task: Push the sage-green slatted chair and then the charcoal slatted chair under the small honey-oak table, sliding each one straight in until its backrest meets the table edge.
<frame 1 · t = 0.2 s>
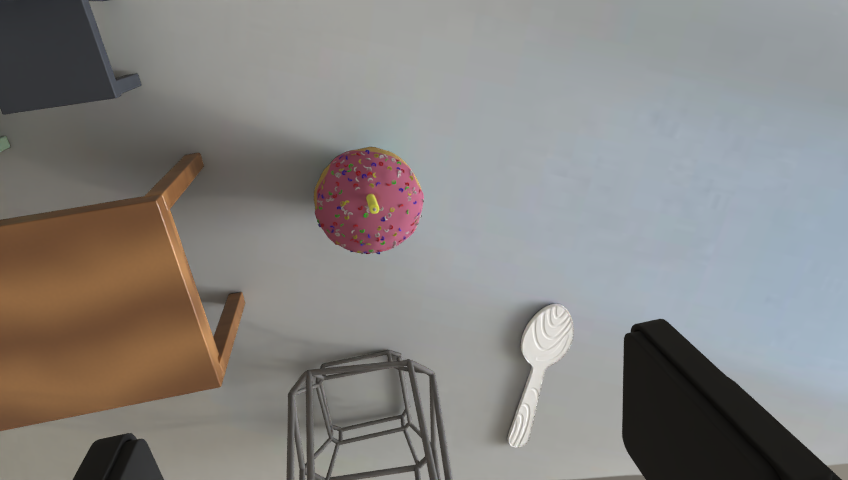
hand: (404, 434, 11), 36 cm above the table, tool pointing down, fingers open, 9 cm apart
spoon: (534, 377, 57), on the table
oak table: (89, 255, 45), on the table
charcoal chair: (32, 49, 33), point 7 cm above the table, slide at 0.0 cm
geometric lantern: (361, 388, 55), on the table
cupcake: (365, 184, 46), on the table
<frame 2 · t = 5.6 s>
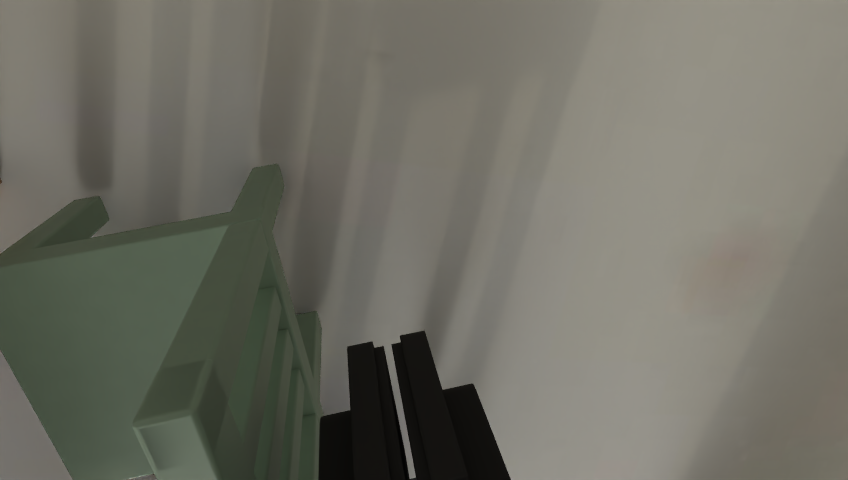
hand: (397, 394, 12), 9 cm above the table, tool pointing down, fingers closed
sage chair: (155, 379, 14), point 7 cm above the table, slide at 0.7 cm
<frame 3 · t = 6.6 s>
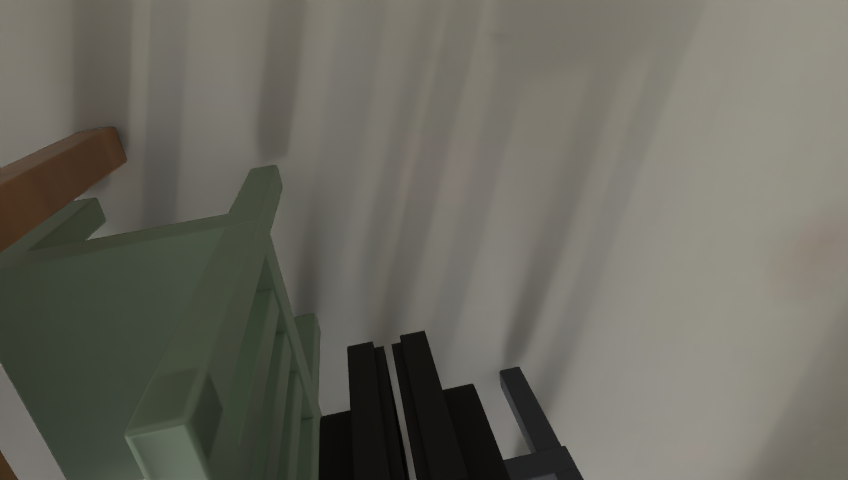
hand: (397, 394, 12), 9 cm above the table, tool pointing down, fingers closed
oak table: (36, 435, 21), on the table
sage chair: (152, 383, 14), point 7 cm above the table, slide at 4.8 cm, touching gripper
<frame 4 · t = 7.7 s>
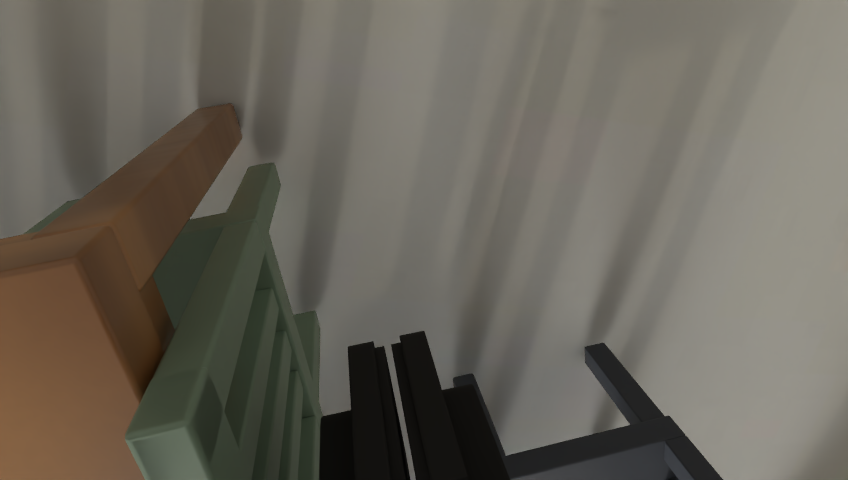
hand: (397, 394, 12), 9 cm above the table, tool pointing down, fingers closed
oak table: (136, 413, 21), on the table
sage chair: (151, 383, 14), point 7 cm above the table, slide at 8.6 cm, touching gripper
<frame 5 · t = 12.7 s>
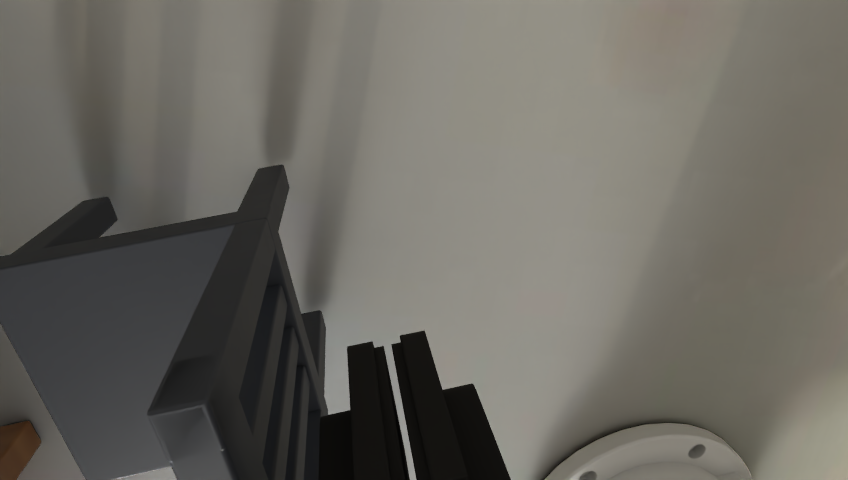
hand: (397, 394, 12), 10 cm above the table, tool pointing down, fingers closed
charcoal chair: (164, 375, 14), point 7 cm above the table, slide at 0.4 cm, touching gripper
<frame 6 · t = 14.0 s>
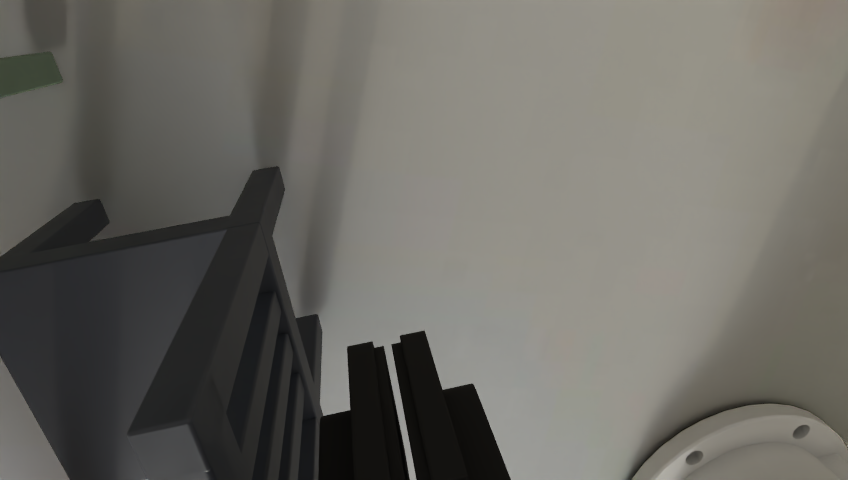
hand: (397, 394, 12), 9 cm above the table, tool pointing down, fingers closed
charcoal chair: (154, 383, 14), point 7 cm above the table, slide at 5.7 cm, touching gripper
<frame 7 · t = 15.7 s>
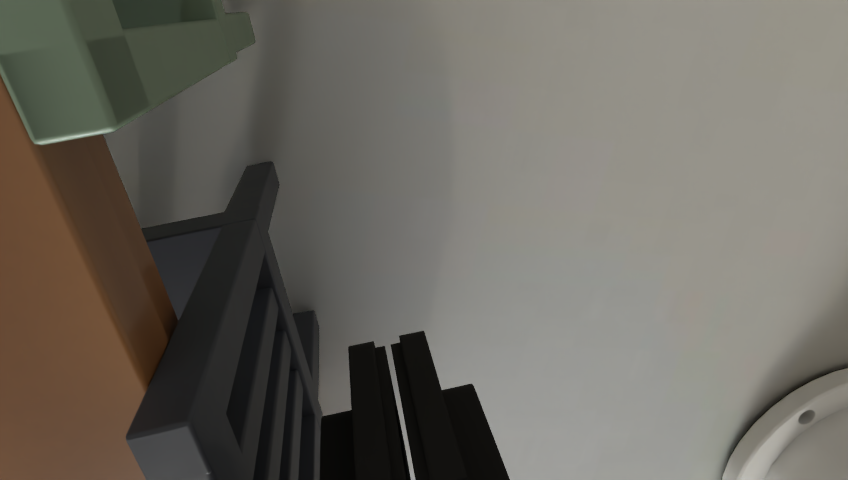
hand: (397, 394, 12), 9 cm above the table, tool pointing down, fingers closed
oak table: (15, 157, 17), on the table
charcoal chair: (151, 383, 13), point 7 cm above the table, slide at 11.7 cm, touching gripper, oak table
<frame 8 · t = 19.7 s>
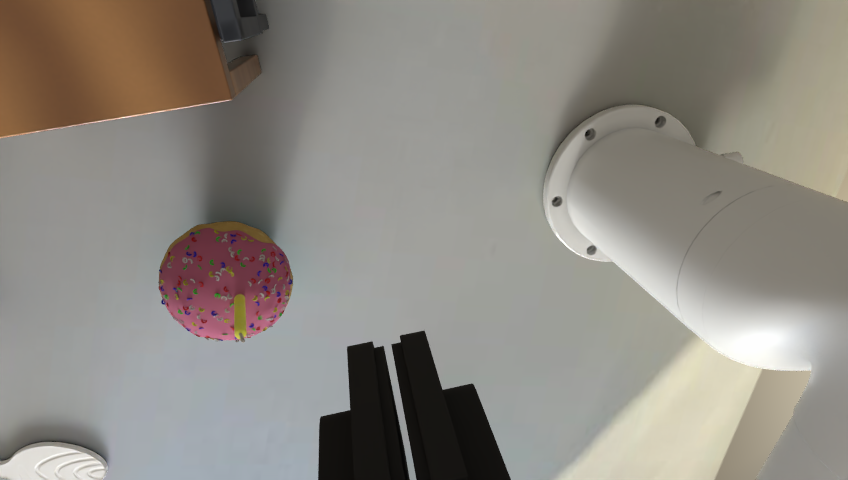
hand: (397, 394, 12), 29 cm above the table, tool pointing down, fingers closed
cupcake: (238, 254, 41), on the table
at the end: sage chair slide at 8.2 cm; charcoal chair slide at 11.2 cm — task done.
